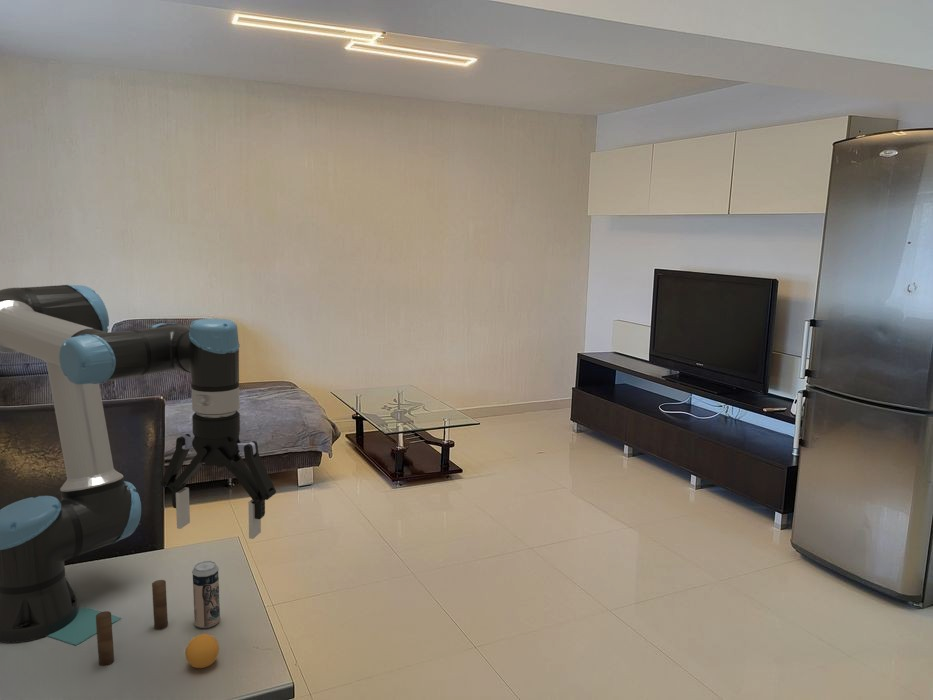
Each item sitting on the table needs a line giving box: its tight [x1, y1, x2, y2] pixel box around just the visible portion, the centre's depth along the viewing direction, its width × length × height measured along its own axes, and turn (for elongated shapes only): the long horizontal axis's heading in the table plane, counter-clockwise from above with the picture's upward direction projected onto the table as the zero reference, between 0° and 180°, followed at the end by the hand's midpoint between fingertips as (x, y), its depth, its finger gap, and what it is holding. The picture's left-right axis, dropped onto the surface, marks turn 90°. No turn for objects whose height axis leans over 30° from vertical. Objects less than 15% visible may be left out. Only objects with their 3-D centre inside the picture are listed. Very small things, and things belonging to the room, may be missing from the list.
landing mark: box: [46, 606, 122, 647], centre depth 134 cm, size 10×10×1 cm
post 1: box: [96, 610, 115, 667], centre depth 122 cm, size 2×2×9 cm
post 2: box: [151, 579, 169, 631], centre depth 134 cm, size 2×2×9 cm
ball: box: [185, 633, 220, 669], centre depth 122 cm, size 6×6×6 cm
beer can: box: [191, 560, 221, 629], centre depth 135 cm, size 5×5×12 cm
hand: (218, 530), depth 120 cm, fingers open, 13 cm apart
